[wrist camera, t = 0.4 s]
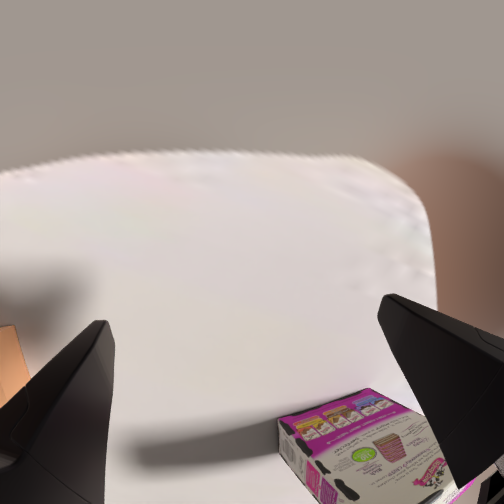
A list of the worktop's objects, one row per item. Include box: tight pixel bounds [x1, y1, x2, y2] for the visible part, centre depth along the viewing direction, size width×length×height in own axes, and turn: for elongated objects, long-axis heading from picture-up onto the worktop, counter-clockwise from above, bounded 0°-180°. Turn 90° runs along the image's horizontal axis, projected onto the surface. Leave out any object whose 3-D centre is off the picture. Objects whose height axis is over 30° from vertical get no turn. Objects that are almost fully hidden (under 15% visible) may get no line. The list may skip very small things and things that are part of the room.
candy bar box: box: [278, 388, 475, 504], centre depth 18 cm, size 11×5×16 cm, turn 94°
